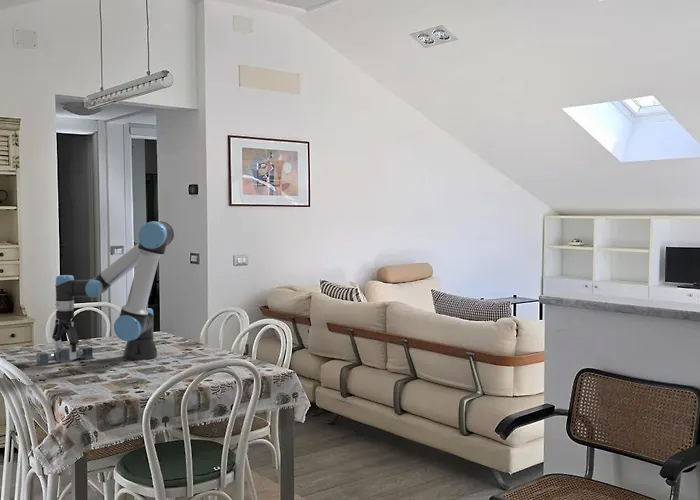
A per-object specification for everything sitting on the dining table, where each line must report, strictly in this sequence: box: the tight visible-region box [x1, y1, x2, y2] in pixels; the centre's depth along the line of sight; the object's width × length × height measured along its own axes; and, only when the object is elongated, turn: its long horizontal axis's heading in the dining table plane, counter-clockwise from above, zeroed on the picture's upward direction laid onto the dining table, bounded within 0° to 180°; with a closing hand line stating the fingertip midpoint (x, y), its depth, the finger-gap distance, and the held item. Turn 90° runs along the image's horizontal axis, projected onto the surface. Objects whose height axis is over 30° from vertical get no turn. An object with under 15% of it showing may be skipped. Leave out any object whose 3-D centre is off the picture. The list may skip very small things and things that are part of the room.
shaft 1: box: [35, 351, 58, 367], centre depth 316 cm, size 8×5×5 cm, turn 130°
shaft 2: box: [76, 346, 94, 360], centre depth 328 cm, size 8×5×5 cm, turn 146°
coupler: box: [56, 346, 74, 364], centre depth 322 cm, size 6×4×6 cm
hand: (65, 357), depth 322 cm, fingers open, 13 cm apart
